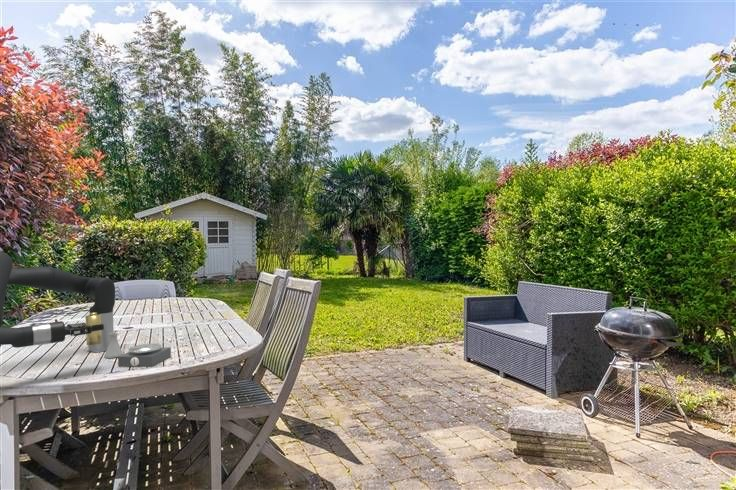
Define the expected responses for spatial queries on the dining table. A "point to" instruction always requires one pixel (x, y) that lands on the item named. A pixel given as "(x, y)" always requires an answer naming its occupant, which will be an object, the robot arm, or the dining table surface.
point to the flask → (113, 347)
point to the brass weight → (95, 336)
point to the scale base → (144, 358)
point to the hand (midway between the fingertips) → (101, 325)
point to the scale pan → (144, 348)
